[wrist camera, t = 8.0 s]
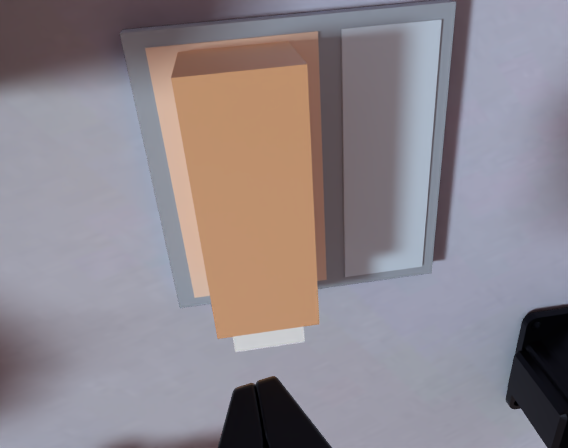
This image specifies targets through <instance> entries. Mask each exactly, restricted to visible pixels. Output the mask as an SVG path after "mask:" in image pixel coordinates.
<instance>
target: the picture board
mask: <svg viewBox="0 0 568 448" xmlns="http://www.w3.org/2000/svg"><path fill="white" fill-rule="evenodd" d="M455 10H456V2H455V1H451V0H434V1H424V2H413V3H402V4H392V5H381V6H370V7H359V8H349V9H338V10H327V11H317V12H306V13H295V14H285V15H274V16H263V17H253V18H242V19H231V20H221V21H210V22H199V23H189V24H178V25H167V26H157V27H146V28H135V29H125V30H122V31H121V32H120V38H121V42H122V47H123V52H124V56H125V61H126V65H127V70H128V74H129V79H130V83H131V88H132V92H133V97H134V102H135V106H136V111H137V115H138V120H139V124H140V129H141V133H142V138H143V143H144V147H145V152H146V156H147V161H148V165H149V170H150V174H151V179H152V184H153V188H154V193H155V197H156V202H157V206H158V211H159V215H160V220H161V225H162V229H163V234H164V238H165V243H166V247H167V252H168V256H169V261H170V266H171V270H172V275H173V279H174V284H175V288H176V293H177V297H178V302H179V307H180V308H185V307H192V306H199V305H206V304H211V299H210V293H209V288H208V282H207V276H206V271H205V265H204V260H203V254H202V249H201V243H200V237H199V232H198V226H197V221H196V215H195V209H194V204H193V198H192V193H191V187H190V182H189V176H188V170H187V165H186V159H185V154H184V148H183V142H182V137H181V131H180V126H179V120H178V114H177V109H176V103H175V98H174V92H173V87H172V81H171V76H172V72H173V68H174V65H175V61H176V57H177V53H178V52H183V51H194V50H204V49H214V48H224V47H234V46H245V45H255V44H265V43H275V42H285V41H289V43H290V44H291V45H292V46H293V47H294V49H295V50H296V51H297V52H298V54H299V55H300V56H301V57H302V58H303V60H304V61H305V62H306V63H307V69H308V90H309V112H310V134H311V156H312V177H313V199H314V221H315V242H316V264H317V286H318V289H321V288H329V287H336V286H343V285H350V284H357V283H364V282H372V281H379V280H386V279H393V278H400V277H408V276H415V275H422V274H429V273H432V263H433V252H434V241H435V230H436V219H437V208H438V197H439V186H440V175H441V164H442V153H443V142H444V131H445V120H446V109H447V98H448V87H449V76H450V65H451V54H452V43H453V32H454V21H455Z"/></svg>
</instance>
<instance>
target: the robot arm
mask: <svg viewBox="0 0 568 448" xmlns="http://www.w3.org/2000/svg"><path fill="white" fill-rule="evenodd" d="M506 402H507V403H508V405H509V406H510V407H511V408H512V409H520V408H521V409H522V411H523V412H524V414H525V415H526V417H527V418H528V419H529V421H530V422H531V424H532V425H533V427H534V428H535V430H536V431H537V433H538V434H539V436H540V437H541V439H542V440H543V442H544V443H545V445H546V446H547V448H568V308H561V309H554V310H548V311H541V312H534V313H530V314H528V315H527V316H525V318H524V319H523V321H522V324H521V329H520V334H519V338H518V343H517V348H516V353H515V356H514V359H513V364H512V369H511V374H510V378H509V383H508V390H507V395H506ZM218 448H332V447H331V446H330V445H329V443H328V442H327V441H326V439H325V438H324V437H323V436H322V434H321V433H320V432H319V431H318V429H317V428H316V427H315V425H314V424H313V423H312V422H311V420H310V419H309V418H308V416H307V415H306V414H305V413H304V411H303V410H302V409H301V408H300V406H299V405H298V404H297V402H296V401H295V400H294V399H293V397H292V396H291V395H290V394H289V392H288V391H287V390H286V388H285V387H284V386H283V385H282V383H281V382H280V381H279V379H278V378H277V377H275V376H272V377H268V378H265V379H262V380H259V381H257V382H256V385H255V384H254V383H249V384H246V385H243V386H240V387H237V388H235V389H234V391H233V393H232V397H231V401H230V405H229V408H228V412H227V416H226V419H225V423H224V427H223V431H222V434H221V438H220V442H219V445H218Z"/></svg>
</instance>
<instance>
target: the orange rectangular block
mask: <svg viewBox="0 0 568 448" xmlns="http://www.w3.org/2000/svg"><path fill="white" fill-rule="evenodd" d="M171 81H172V87H173V92H174V98H175V103H176V109H177V114H178V120H179V126H180V131H181V137H182V142H183V148H184V154H185V159H186V165H187V170H188V176H189V182H190V187H191V193H192V198H193V204H194V209H195V215H196V221H197V226H198V232H199V237H200V243H201V249H202V254H203V260H204V265H205V271H206V276H207V282H208V288H209V293H210V299H211V304H212V310H213V316H214V321H215V327H216V332H217V338H218V339H220V338H227V337H233V341H234V347H235V352H240V351H247V350H254V349H261V348H267V347H274V346H281V345H288V344H295V343H301V342H305V339H304V326H310V325H317V324H319V307H318V286H317V264H316V242H315V221H314V199H313V177H312V156H311V134H310V112H309V90H308V69H307V63H306V62H305V61H304V60H303V58H302V57H301V56H300V55H299V54H298V52H297V51H296V50H295V49H294V47H293V46H292V45H291V44H290V43H289V41H285V42H275V43H265V44H255V45H245V46H234V47H224V48H214V49H204V50H194V51H183V52H178V53H177V57H176V61H175V65H174V68H173V72H172V76H171Z"/></svg>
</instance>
